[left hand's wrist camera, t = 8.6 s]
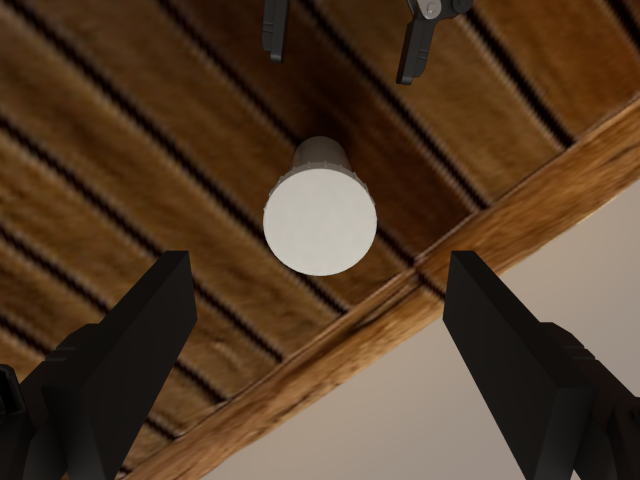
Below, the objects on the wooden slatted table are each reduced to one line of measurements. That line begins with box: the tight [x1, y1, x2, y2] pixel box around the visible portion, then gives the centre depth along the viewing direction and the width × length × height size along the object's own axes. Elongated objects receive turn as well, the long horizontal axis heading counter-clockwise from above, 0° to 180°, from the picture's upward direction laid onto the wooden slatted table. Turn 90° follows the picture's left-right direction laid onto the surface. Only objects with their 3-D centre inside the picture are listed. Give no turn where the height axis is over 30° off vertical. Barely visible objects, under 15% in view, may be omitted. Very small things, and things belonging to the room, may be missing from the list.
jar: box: [287, 136, 353, 173], centre depth 28 cm, size 5×5×16 cm
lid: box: [263, 161, 377, 276], centre depth 21 cm, size 6×6×2 cm
